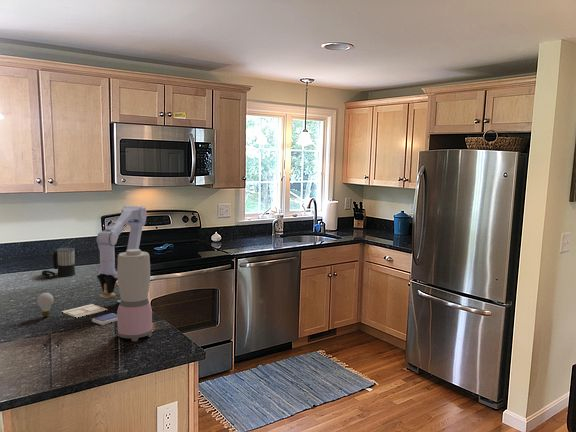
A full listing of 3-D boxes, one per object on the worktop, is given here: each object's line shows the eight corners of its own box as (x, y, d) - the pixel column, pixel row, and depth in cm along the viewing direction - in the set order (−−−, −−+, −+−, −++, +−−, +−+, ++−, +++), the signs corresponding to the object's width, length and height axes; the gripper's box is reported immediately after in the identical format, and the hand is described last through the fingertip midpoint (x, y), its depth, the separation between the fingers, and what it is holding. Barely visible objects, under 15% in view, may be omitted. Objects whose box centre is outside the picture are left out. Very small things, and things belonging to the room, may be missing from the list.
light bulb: (38, 315, 193) (38, 291, 192) (54, 313, 195) (54, 290, 194) (36, 319, 188) (35, 295, 187) (53, 318, 190) (52, 294, 189)
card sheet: (92, 304, 209) (92, 303, 209) (107, 309, 202) (107, 309, 202) (61, 312, 198) (61, 311, 198) (76, 318, 191) (76, 317, 191)
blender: (159, 335, 174) (158, 250, 170) (129, 344, 164) (128, 254, 161) (135, 325, 184) (133, 245, 180) (106, 333, 174) (104, 249, 171)
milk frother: (79, 273, 266) (78, 247, 265) (62, 280, 251) (61, 252, 249) (55, 272, 268) (54, 246, 266) (38, 278, 252) (36, 251, 251)
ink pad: (112, 315, 194) (111, 312, 194) (122, 319, 190) (122, 315, 190) (92, 321, 187) (91, 317, 187) (102, 325, 183) (101, 321, 183)
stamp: (109, 295, 199) (109, 281, 198) (115, 297, 196) (115, 283, 196) (99, 297, 195) (99, 283, 195) (106, 299, 192) (106, 285, 192)
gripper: (88, 259, 195) (89, 290, 197) (108, 263, 187) (109, 297, 188) (104, 256, 201) (104, 287, 202) (124, 261, 192) (124, 293, 194)
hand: (107, 292), depth 195 cm, fingers closed on stamp, 3 cm apart
